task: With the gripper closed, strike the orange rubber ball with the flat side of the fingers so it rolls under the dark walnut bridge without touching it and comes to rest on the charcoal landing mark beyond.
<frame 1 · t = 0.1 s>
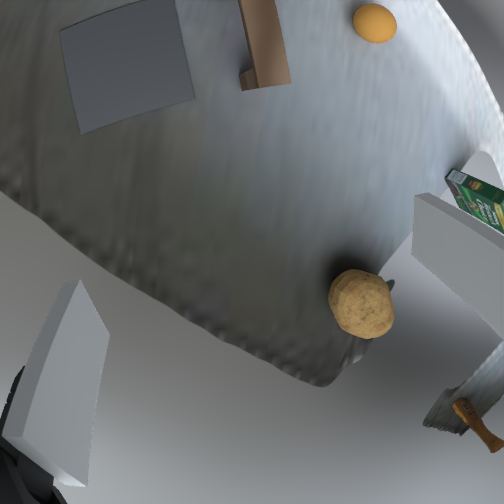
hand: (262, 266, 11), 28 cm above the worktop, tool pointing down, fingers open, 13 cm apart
pancake mix bag: (461, 401, 90), on the worktop
potato: (349, 287, 50), on the worktop
bridge: (243, 32, 30), on the worktop
coffee box: (454, 187, 45), on the worktop
ball: (374, 23, 29), on the worktop
landing mark: (123, 60, 29), on the worktop
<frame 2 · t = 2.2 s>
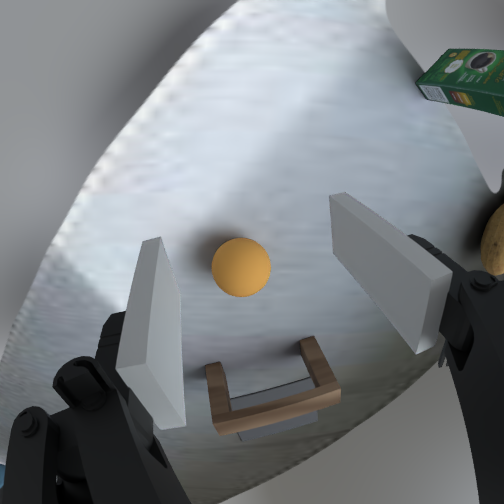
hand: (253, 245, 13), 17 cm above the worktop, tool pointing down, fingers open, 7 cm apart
potato: (491, 223, 39), on the worktop
bridge: (261, 359, 40), on the worktop
coffee box: (435, 74, 27), on the worktop
ball: (241, 267, 30), on the worktop
landing mark: (275, 412, 47), on the worktop
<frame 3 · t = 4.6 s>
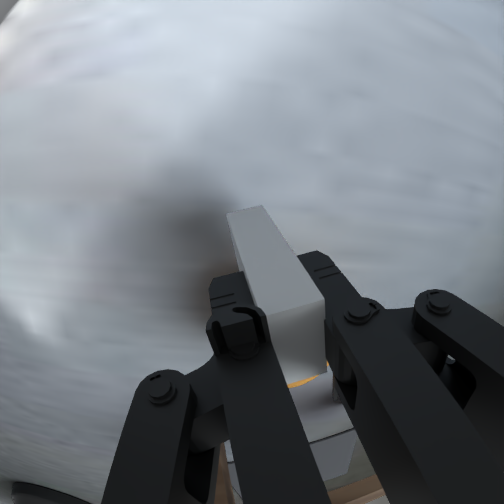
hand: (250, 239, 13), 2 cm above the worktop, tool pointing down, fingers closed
bridge: (284, 413, 22), on the worktop
landing mark: (293, 471, 29), on the worktop
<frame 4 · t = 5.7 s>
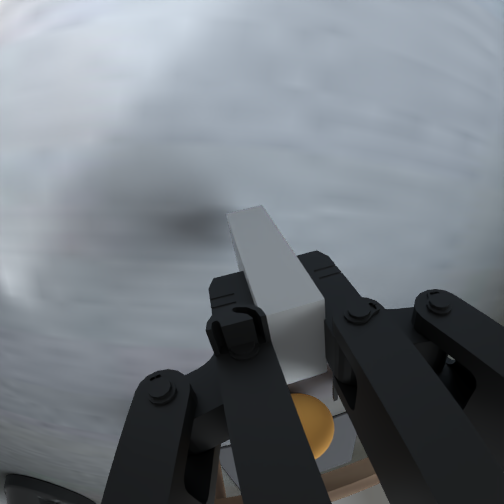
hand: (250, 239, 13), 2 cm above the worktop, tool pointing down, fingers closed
bridge: (277, 388, 21), on the worktop
ball: (295, 429, 20), on the worktop
landing mark: (293, 458, 28), on the worktop
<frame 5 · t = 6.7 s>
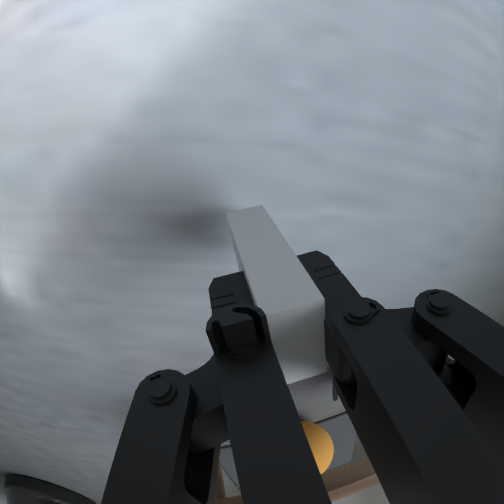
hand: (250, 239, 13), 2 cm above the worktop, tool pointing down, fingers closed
bridge: (277, 388, 21), on the worktop
ball: (300, 451, 22), on the worktop
landing mark: (293, 458, 28), on the worktop
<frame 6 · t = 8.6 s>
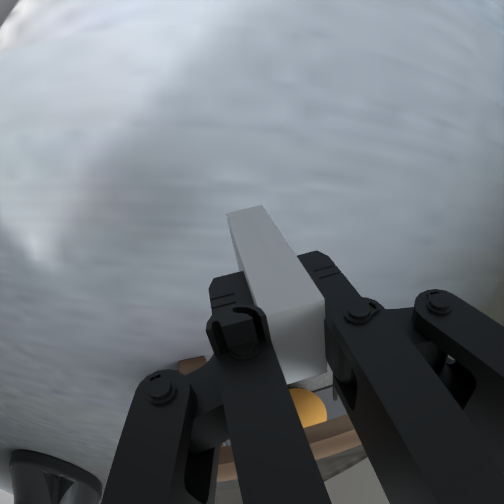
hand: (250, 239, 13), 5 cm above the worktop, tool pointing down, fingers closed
bridge: (274, 352, 24), on the worktop
ball: (295, 417, 25), on the worktop
landing mark: (289, 431, 31), on the worktop
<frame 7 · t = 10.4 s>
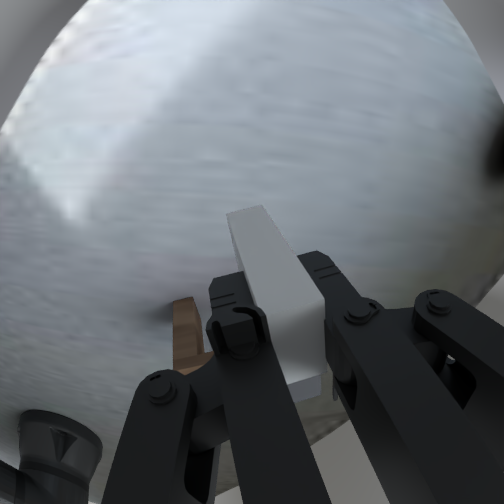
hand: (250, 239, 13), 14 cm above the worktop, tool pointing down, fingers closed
bridge: (247, 295, 32), on the worktop
landing mark: (267, 379, 38), on the worktop
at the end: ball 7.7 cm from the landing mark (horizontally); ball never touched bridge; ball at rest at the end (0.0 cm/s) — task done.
